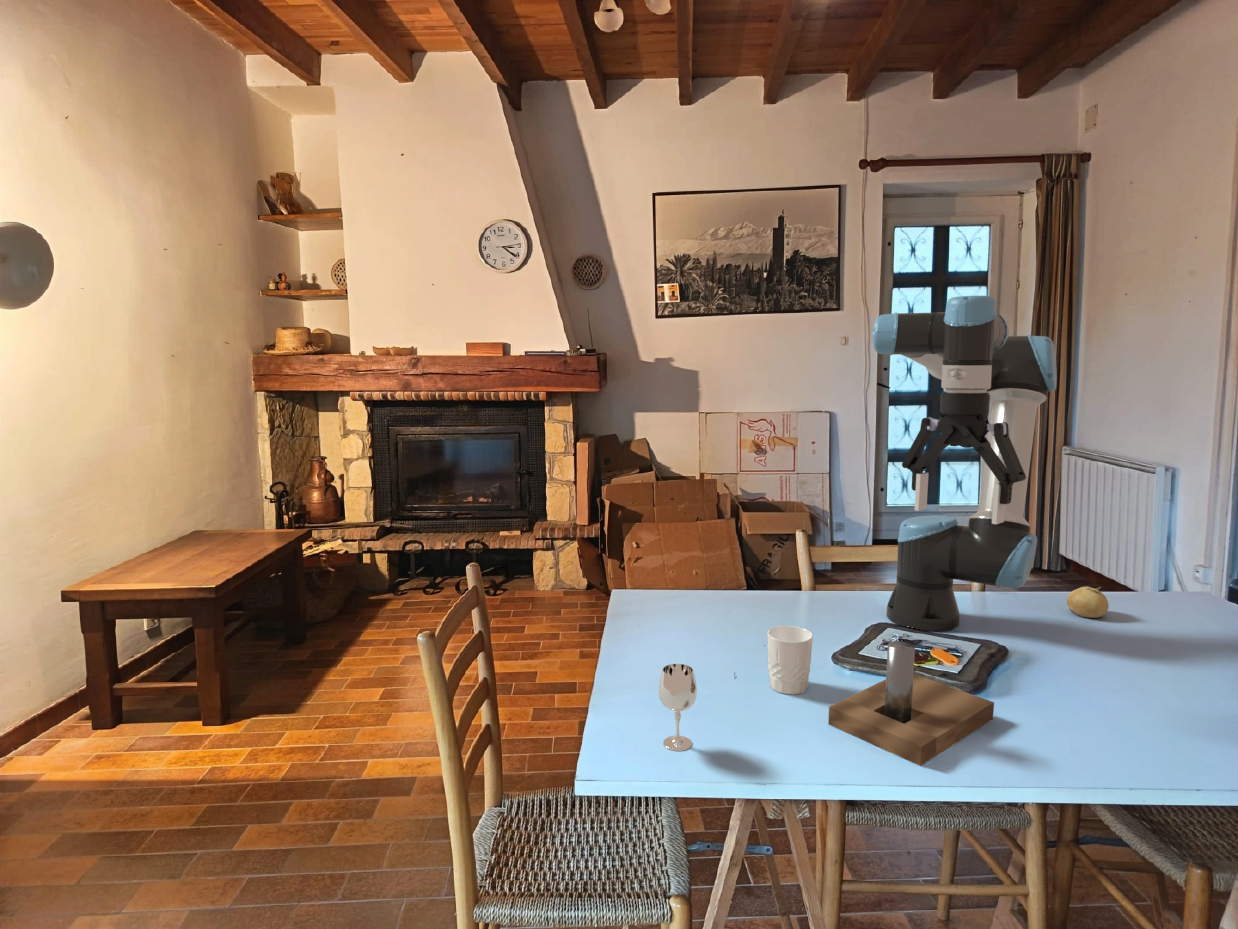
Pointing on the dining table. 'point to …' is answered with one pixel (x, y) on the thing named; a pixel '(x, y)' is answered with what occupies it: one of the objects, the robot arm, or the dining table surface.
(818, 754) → the dining table surface
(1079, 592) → the onion
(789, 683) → the white cup
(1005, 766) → the dining table surface
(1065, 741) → the dining table surface
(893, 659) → the peg
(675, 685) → the wineglass
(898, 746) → the socket board
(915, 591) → the robot arm
